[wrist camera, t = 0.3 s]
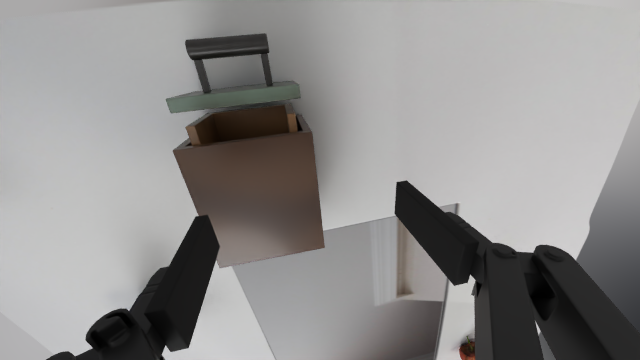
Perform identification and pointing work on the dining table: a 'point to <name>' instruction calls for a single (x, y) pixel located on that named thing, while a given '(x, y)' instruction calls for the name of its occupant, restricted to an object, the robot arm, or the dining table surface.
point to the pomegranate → (467, 351)
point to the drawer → (235, 95)
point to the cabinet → (256, 194)
